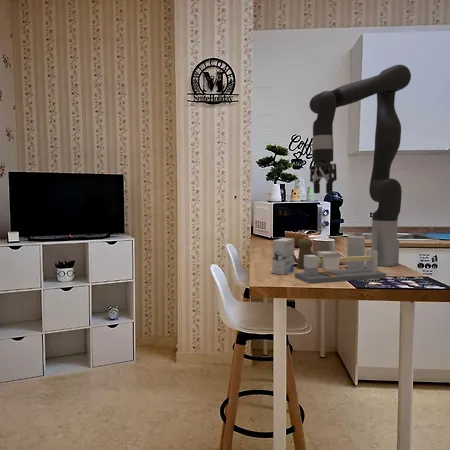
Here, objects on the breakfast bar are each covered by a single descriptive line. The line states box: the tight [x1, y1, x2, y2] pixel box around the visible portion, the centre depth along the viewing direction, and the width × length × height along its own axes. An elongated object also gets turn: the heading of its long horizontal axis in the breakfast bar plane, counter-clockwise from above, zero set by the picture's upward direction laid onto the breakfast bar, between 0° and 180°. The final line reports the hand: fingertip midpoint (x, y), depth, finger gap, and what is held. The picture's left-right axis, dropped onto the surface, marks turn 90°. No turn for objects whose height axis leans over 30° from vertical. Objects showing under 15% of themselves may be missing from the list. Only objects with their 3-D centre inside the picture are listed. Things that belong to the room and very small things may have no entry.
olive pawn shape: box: [296, 238, 313, 271], centre depth 153 cm, size 6×6×11 cm
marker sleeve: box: [315, 250, 341, 271], centre depth 134 cm, size 5×6×5 cm
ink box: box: [271, 237, 296, 276], centre depth 145 cm, size 9×5×12 cm, turn 148°
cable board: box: [294, 249, 387, 284], centre depth 136 cm, size 28×10×8 cm, turn 107°
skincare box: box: [346, 235, 366, 270], centre depth 151 cm, size 6×4×12 cm
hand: (322, 193), depth 152 cm, fingers open, 8 cm apart
